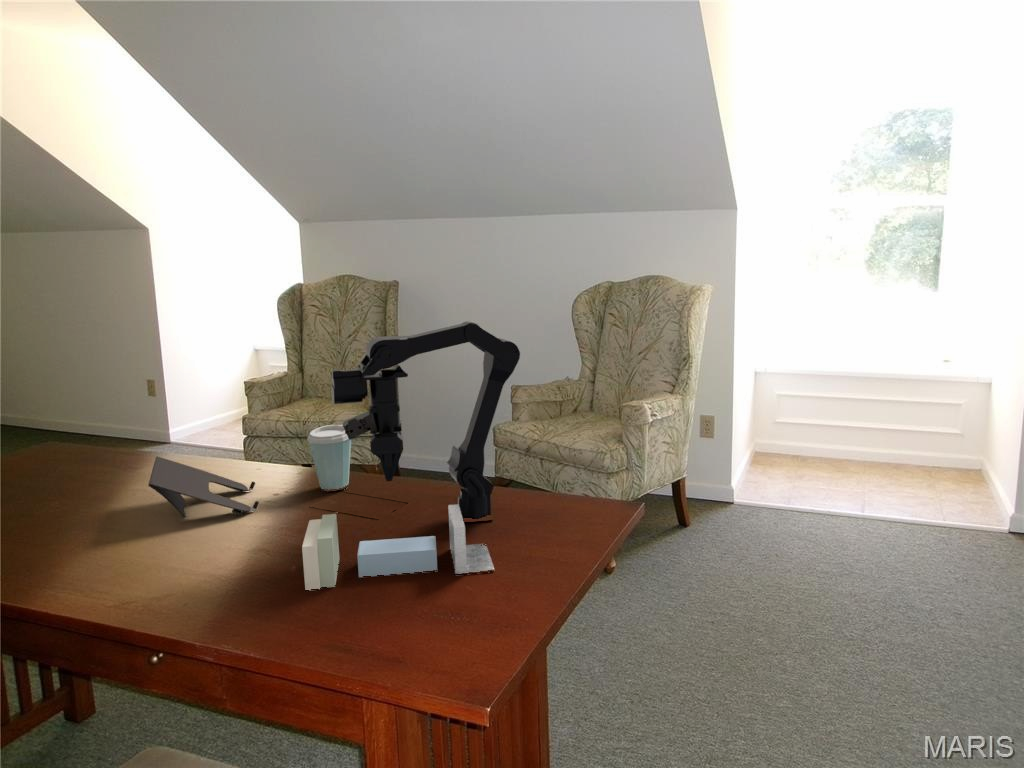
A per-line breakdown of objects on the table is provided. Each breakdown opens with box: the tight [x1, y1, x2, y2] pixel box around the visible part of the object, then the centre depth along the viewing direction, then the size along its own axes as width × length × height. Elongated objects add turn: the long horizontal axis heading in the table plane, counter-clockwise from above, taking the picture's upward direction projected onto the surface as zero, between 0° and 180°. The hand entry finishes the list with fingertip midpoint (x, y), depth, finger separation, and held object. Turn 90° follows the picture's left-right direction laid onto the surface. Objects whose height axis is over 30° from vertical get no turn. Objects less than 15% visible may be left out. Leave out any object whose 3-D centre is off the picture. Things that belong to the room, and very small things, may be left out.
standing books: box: [301, 513, 340, 591], centre depth 135 cm, size 5×13×9 cm, turn 9°
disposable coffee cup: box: [307, 424, 352, 490], centre depth 183 cm, size 11×11×15 cm
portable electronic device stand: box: [147, 456, 260, 518], centre depth 172 cm, size 23×23×9 cm
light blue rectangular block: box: [357, 535, 438, 578], centre depth 138 cm, size 14×6×4 cm, turn 97°
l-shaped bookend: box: [447, 503, 495, 574], centre depth 140 cm, size 7×12×9 cm, turn 9°
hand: (388, 474), depth 154 cm, fingers open, 9 cm apart
